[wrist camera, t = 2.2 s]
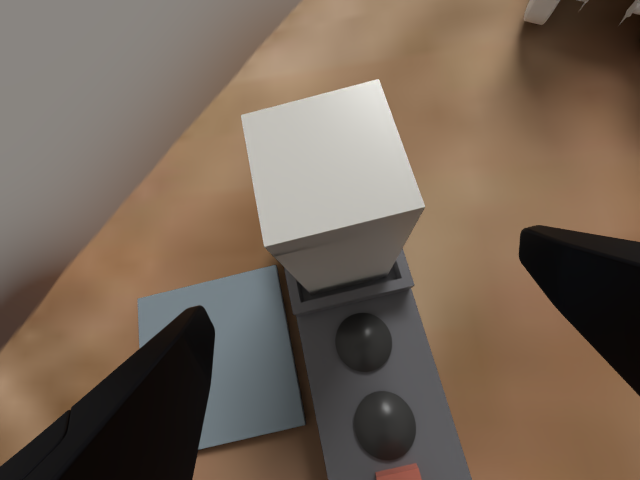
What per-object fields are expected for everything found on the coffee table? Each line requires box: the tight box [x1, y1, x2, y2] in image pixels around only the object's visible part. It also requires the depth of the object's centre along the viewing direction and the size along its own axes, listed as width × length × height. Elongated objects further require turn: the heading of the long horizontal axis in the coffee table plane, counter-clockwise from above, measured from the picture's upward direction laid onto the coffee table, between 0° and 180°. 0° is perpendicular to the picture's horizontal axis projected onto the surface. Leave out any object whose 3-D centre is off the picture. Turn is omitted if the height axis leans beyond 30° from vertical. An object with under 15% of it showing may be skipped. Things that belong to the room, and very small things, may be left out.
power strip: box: [284, 248, 472, 480], centre depth 18 cm, size 16×7×4 cm, turn 13°
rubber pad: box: [138, 265, 306, 450], centre depth 20 cm, size 10×10×1 cm
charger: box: [241, 79, 425, 295], centre depth 14 cm, size 4×4×10 cm
